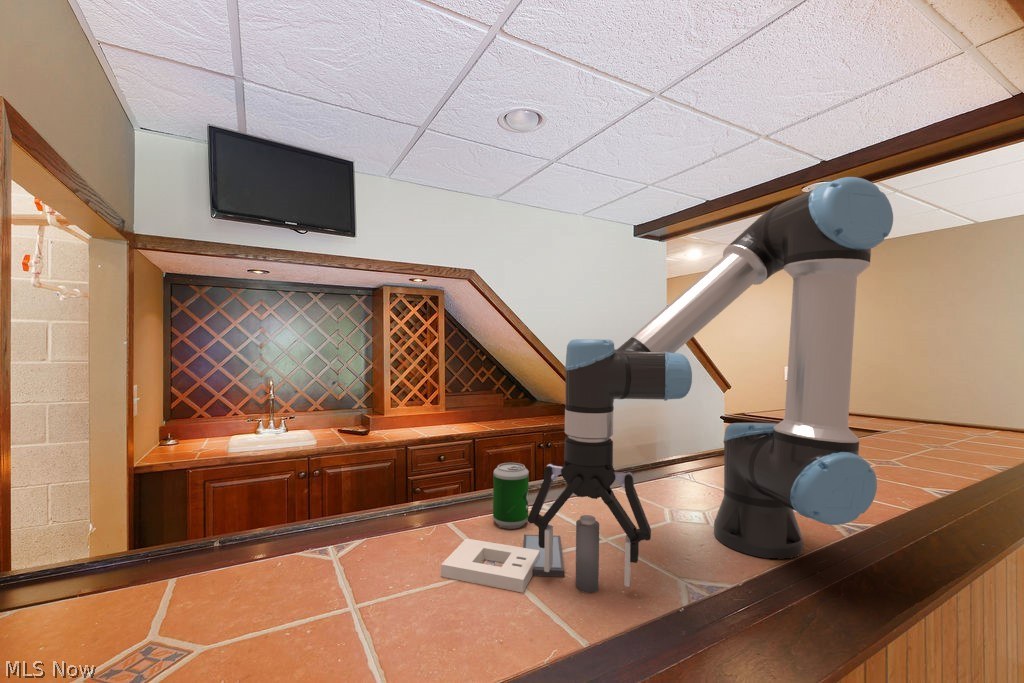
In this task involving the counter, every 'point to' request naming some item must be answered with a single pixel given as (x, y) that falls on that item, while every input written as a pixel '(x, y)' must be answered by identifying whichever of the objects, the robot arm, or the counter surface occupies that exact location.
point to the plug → (587, 554)
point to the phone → (538, 569)
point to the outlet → (508, 577)
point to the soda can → (510, 495)
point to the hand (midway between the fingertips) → (586, 574)
